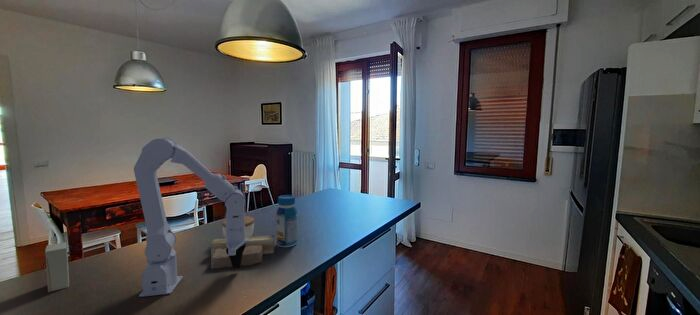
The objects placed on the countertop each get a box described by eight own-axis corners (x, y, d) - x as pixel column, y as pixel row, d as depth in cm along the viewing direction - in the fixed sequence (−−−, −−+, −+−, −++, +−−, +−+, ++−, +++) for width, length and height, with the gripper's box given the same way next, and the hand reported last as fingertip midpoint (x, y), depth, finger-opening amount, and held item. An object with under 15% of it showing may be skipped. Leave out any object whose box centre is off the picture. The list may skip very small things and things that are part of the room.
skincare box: (49, 284, 83) (45, 245, 82) (70, 279, 86) (67, 241, 85) (47, 293, 79) (44, 251, 78) (69, 287, 82) (66, 247, 81)
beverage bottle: (295, 248, 111) (294, 199, 109) (274, 248, 111) (273, 198, 109) (299, 240, 120) (298, 194, 118) (279, 239, 119) (278, 194, 118)
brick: (210, 270, 94) (210, 256, 93) (215, 259, 102) (215, 246, 101) (261, 264, 98) (261, 252, 97) (263, 254, 106) (263, 242, 105)
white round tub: (254, 234, 126) (253, 210, 125) (255, 244, 114) (254, 218, 113) (223, 237, 121) (222, 213, 120) (221, 249, 110) (220, 221, 109)
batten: (273, 252, 106) (273, 239, 106) (211, 258, 102) (210, 243, 101) (274, 248, 110) (273, 235, 110) (214, 253, 106) (213, 239, 105)
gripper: (245, 234, 84) (246, 277, 85) (251, 219, 98) (252, 256, 99) (220, 235, 83) (221, 279, 84) (230, 220, 97) (231, 258, 98)
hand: (236, 267), depth 91 cm, fingers closed
